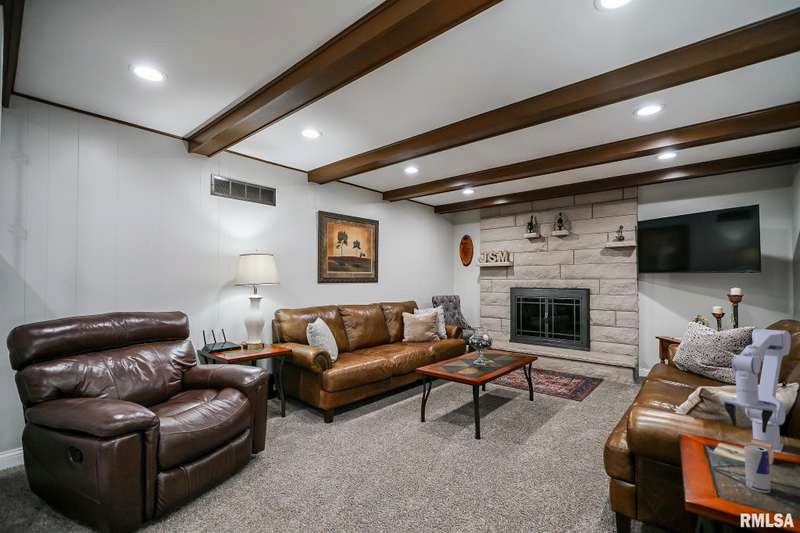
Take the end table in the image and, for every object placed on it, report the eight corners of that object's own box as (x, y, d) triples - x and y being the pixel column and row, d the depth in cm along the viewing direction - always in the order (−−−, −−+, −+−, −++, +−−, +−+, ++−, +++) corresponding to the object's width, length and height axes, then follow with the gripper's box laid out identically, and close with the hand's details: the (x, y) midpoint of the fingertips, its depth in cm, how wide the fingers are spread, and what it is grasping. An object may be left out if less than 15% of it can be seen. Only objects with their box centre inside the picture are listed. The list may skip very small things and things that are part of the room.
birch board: (719, 443, 144) (719, 442, 144) (751, 451, 137) (751, 450, 137) (712, 454, 135) (711, 452, 135) (745, 462, 128) (745, 461, 128)
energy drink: (775, 494, 110) (773, 452, 110) (754, 492, 111) (752, 450, 111) (762, 484, 115) (760, 444, 115) (741, 483, 116) (739, 443, 116)
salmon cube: (753, 455, 133) (752, 438, 134) (773, 460, 130) (772, 442, 130) (751, 460, 130) (750, 442, 130) (771, 465, 126) (770, 447, 127)
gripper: (718, 388, 137) (720, 426, 136) (774, 396, 126) (776, 438, 126) (722, 384, 142) (724, 421, 141) (776, 392, 131) (779, 432, 130)
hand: (749, 428), depth 134 cm, fingers open, 7 cm apart
